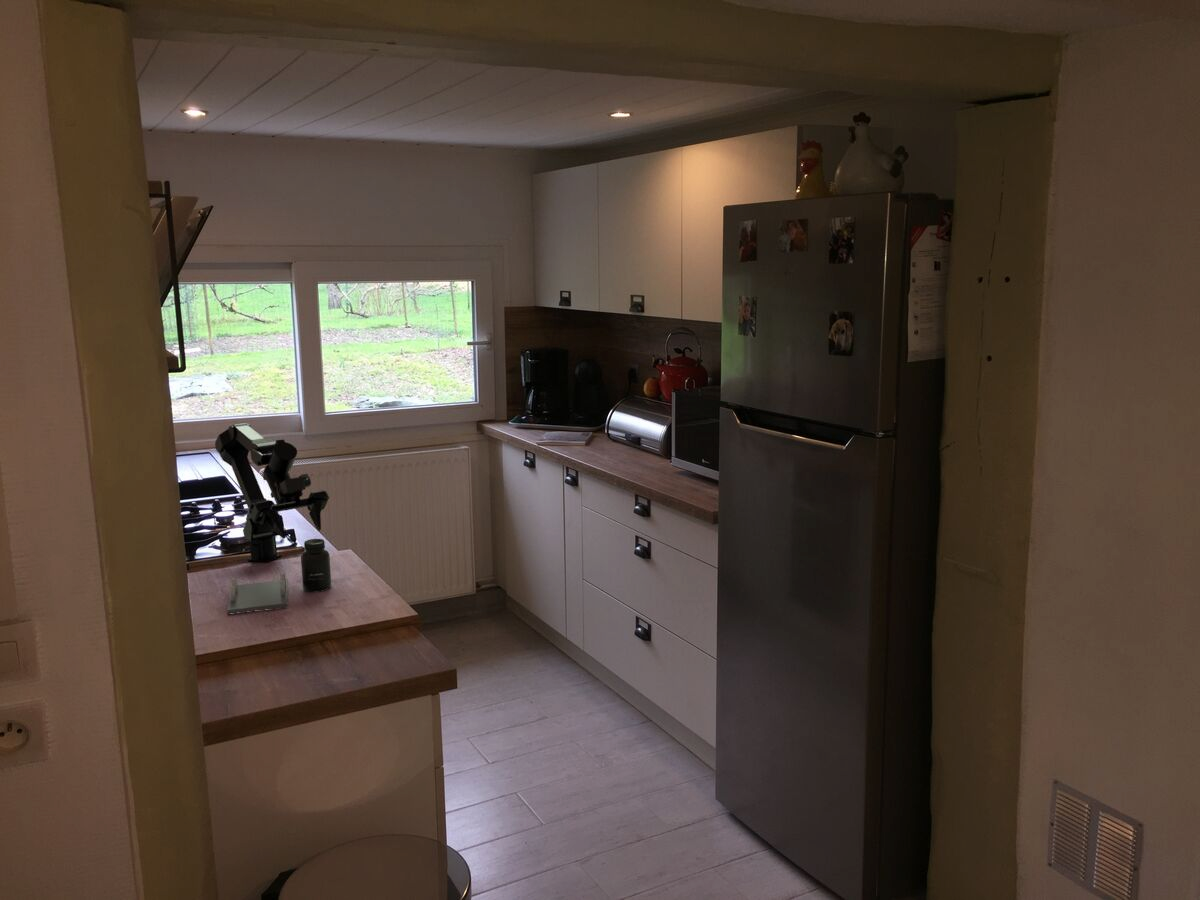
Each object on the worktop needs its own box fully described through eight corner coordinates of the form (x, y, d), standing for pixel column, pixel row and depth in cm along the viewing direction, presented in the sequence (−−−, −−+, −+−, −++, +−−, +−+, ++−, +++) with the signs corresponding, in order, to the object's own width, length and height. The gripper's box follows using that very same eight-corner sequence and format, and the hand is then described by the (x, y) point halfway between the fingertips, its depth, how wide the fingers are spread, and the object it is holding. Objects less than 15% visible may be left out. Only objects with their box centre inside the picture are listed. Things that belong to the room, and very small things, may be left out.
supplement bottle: (314, 594, 234) (310, 546, 232) (297, 589, 238) (293, 542, 236) (337, 586, 239) (334, 540, 237) (320, 581, 244) (316, 535, 241)
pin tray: (233, 590, 239) (231, 571, 238) (288, 583, 242) (286, 565, 241) (227, 614, 222) (225, 595, 221) (287, 608, 225) (285, 588, 224)
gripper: (251, 470, 236) (273, 523, 230) (322, 459, 248) (345, 508, 242) (241, 496, 243) (263, 548, 237) (312, 484, 255) (334, 532, 249)
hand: (302, 533), depth 241 cm, fingers open, 9 cm apart
